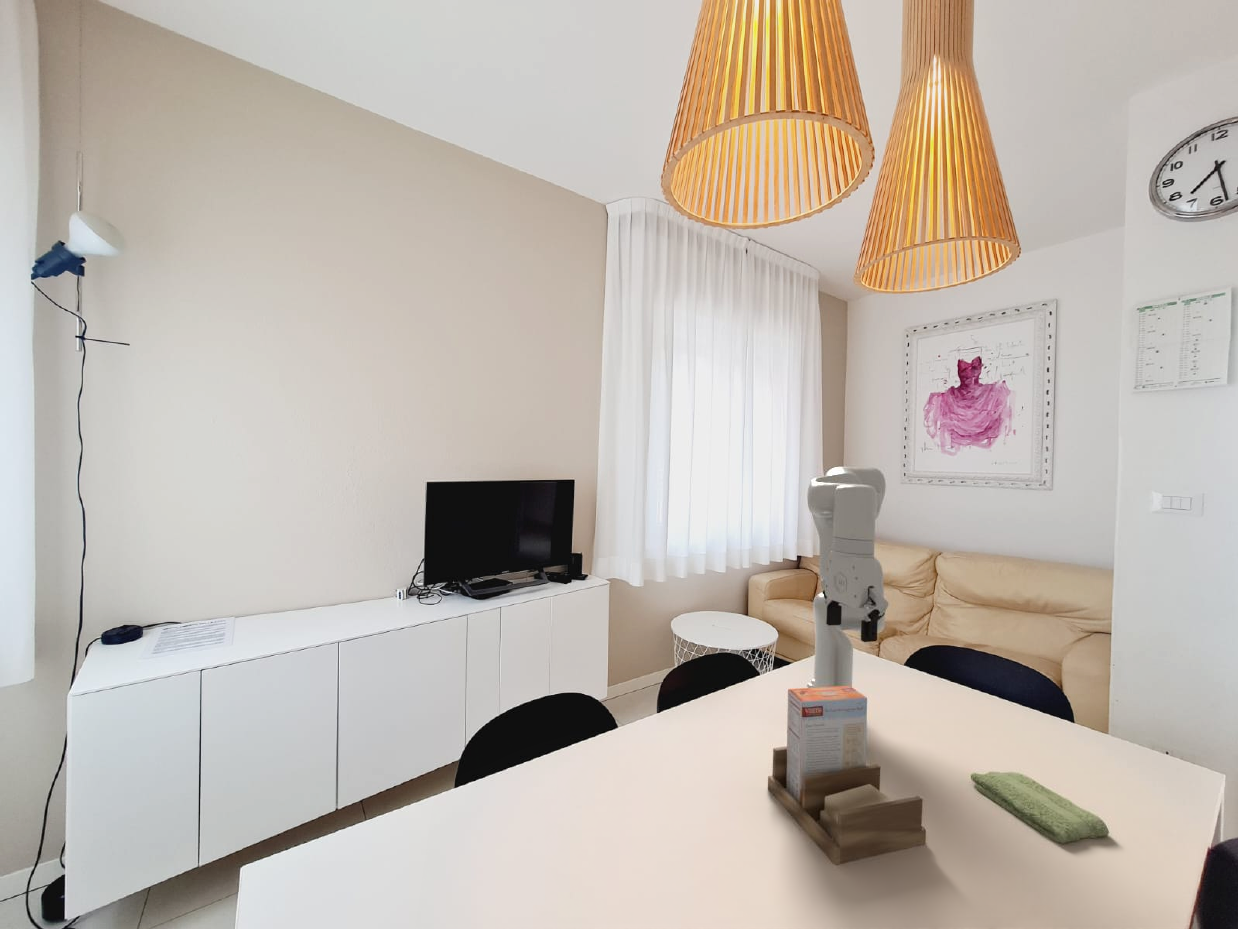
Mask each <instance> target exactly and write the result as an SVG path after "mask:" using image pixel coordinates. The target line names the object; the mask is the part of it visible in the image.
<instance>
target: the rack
mask: <svg viewBox="0 0 1238 929" xmlns="http://www.w3.org/2000/svg"><path fill="white" fill-rule="evenodd" d="M772 752H773V753H772V775H768V776H767V790H768V791H769V792H770V793H771V794H772V795H773V796H774V797H775V799H776V800H777V801H778V802H779V803H780V805H782V806H783V808H784V809H785V810H786V811H787V812H788V814H790V816H792V818H793V819H794V820H795V821H796V822H797V824H798V825H799V826H800V827H801V828H802V829H803V830H804V832H805V833H806V834H807V835H808V836H809V837H810V839H812V841H813V842H814V843H815V844H816V845H817V847H818V848H819V849H821V851H822V852H823V853H824V854H825V856H827V858H828V859H829V860H830V861H831V862H832V864H834V866H836V865H840V864H845V863H848V862H854V861H857V860H862V859H866V858H867V859H868V858H871V857H874V856H879V855H883V854H887V853H891V852H897V851H899V850H904V849H908V848H909V849H910V848H913V847H917V846H922V845H926V840H927V839H926V838H927V828H925V827H924V826H923V824H922V823H923V798H922V797H921V796H920V795H915V796H911V797H906V798H905V797H904V798H901V799H895V800H892V801H889V802H884V803H879V804H874V805H869V806H864V807H859V808H854V809H849V810H844V811H839V812H838V830H837V844H836V843H835V842H834V841H833V840H832V839H831V838H830V836H829V835H828V834H827V833H826V832H825V831H824V830H823V829H822V828H821V827H820V824H818V823H817V821H820V811H822V810H824V809H825V797H826V796H829V795H833V794H836V793H840V792H843V791H847V790H850V789H854V788H857V787H861V786H864V785H868V784H871V785H872V786H873V787H875V788H876V789H877V790H879V791H880V792H881V790H880V789H881V766H880V765H879V764H870V765H866V766H864V767H858V768H852V769H846V770H840V771H834V772H828V773H822V774H816V775H810V776H805V777H803V778H802V807H801V806H800V805H799V803H798V802H797V801H796V800H795V799H794V798H793V797H792V796H791V795H790V794H789V793H788V792H787V791H786V773H787V745H786V746H780V747H773V748H772Z"/></svg>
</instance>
